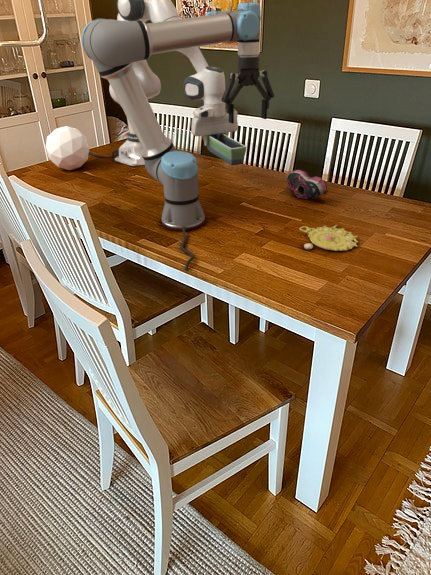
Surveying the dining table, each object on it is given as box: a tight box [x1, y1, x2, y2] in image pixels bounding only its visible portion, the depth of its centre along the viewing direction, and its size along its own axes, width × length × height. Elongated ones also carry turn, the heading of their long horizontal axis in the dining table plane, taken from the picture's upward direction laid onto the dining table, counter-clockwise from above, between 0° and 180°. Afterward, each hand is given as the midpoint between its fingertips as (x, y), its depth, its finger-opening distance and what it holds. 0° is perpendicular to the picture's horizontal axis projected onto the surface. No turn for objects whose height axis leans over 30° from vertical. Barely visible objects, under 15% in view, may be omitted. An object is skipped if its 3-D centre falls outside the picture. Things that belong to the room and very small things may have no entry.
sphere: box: [44, 125, 90, 171], centre depth 207 cm, size 19×20×20 cm
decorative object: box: [299, 224, 359, 252], centre depth 141 cm, size 21×2×20 cm
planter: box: [206, 133, 247, 166], centre depth 182 cm, size 28×7×7 cm, turn 23°
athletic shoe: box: [284, 169, 328, 201], centre depth 172 cm, size 11×22×12 cm
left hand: (215, 144), depth 190 cm, fingers closed on planter, 6 cm apart
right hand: (247, 120), depth 163 cm, fingers open, 13 cm apart
